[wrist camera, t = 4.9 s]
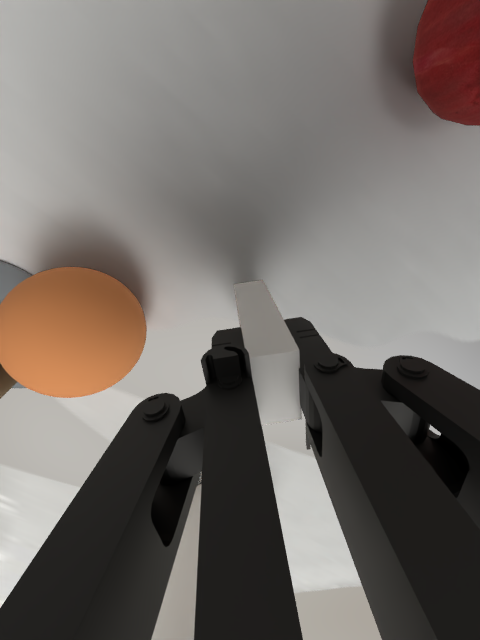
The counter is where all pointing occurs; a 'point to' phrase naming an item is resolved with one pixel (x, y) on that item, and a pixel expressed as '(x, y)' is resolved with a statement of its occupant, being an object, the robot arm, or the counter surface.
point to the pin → (5, 381)
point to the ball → (70, 332)
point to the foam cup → (182, 583)
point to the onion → (449, 59)
